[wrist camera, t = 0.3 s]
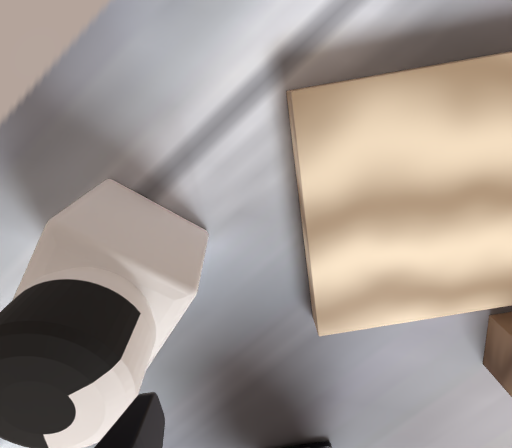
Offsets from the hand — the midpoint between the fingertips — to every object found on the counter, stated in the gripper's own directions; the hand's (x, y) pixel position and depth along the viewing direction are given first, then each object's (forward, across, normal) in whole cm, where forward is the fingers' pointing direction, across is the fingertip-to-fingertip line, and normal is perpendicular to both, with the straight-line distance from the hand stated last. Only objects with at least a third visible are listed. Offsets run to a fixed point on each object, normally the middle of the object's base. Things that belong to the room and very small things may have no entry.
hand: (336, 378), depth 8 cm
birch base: (+14, -9, +1) cm, 17 cm away
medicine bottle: (+14, +10, +2) cm, 17 cm away
